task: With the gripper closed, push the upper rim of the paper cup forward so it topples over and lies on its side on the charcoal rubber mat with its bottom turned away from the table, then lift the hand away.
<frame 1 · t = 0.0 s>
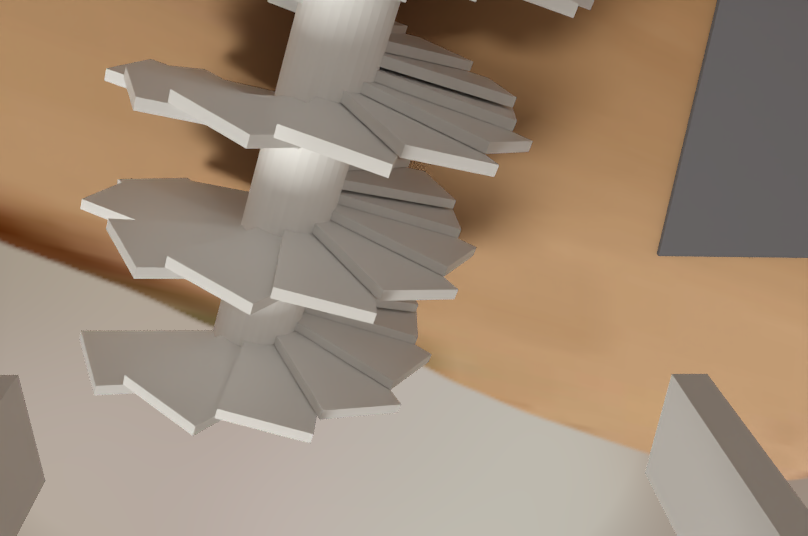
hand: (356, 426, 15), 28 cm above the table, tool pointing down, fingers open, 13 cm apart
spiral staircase: (328, 68, 39), on the table
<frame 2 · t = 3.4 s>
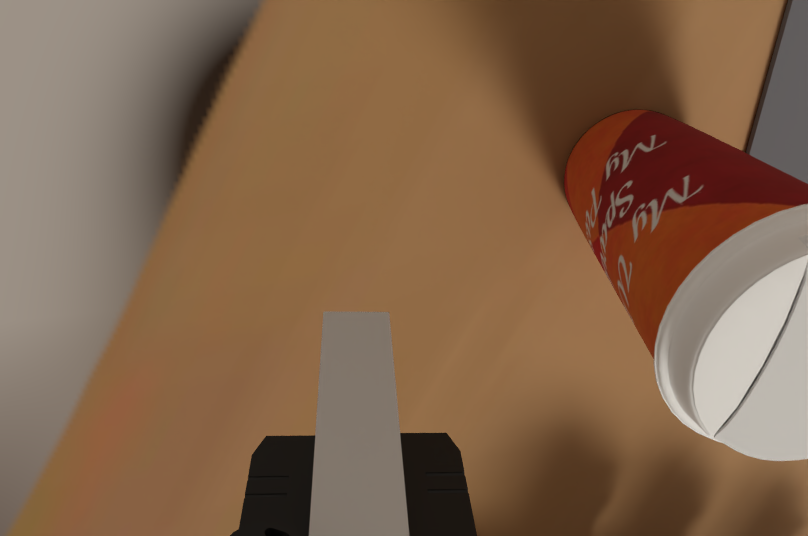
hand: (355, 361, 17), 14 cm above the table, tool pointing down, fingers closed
paper cup: (625, 173, 30), on the table
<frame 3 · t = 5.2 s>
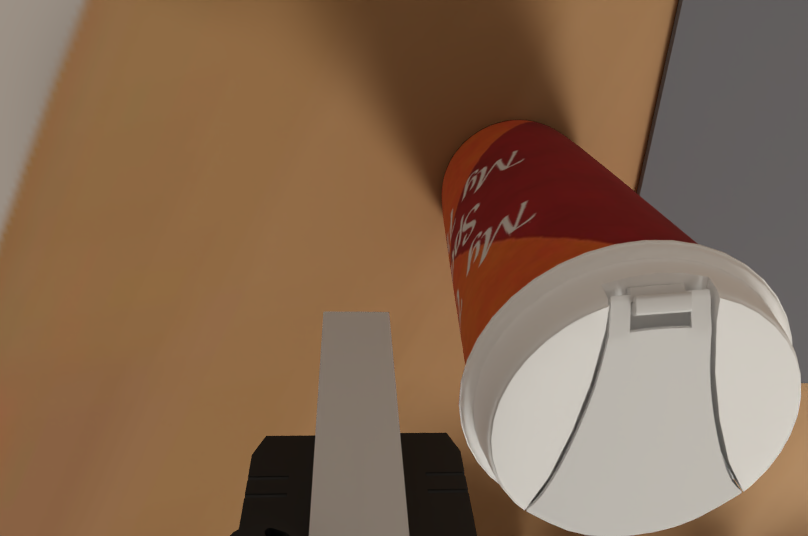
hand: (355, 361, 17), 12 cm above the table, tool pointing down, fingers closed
paper cup: (511, 188, 28), on the table
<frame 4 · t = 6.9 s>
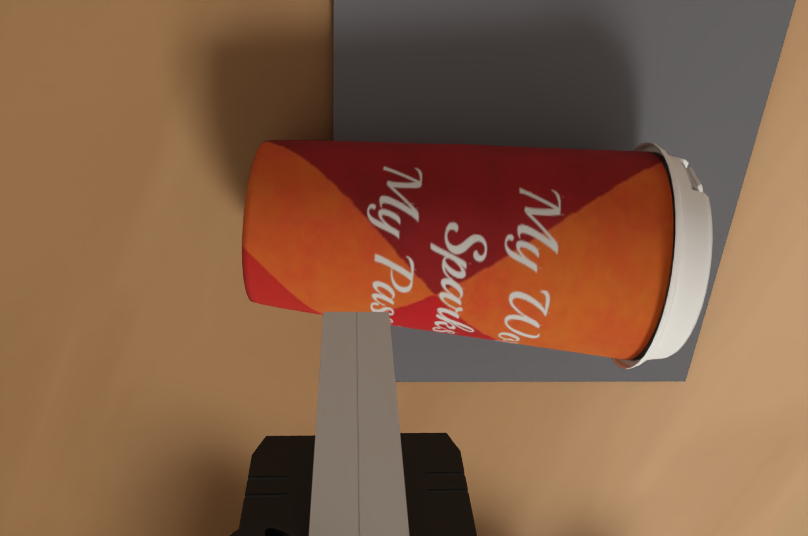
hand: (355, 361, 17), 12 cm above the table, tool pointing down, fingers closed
paper cup: (255, 223, 24), point 3 cm above the table, touching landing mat
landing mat: (538, 190, 28), on the table
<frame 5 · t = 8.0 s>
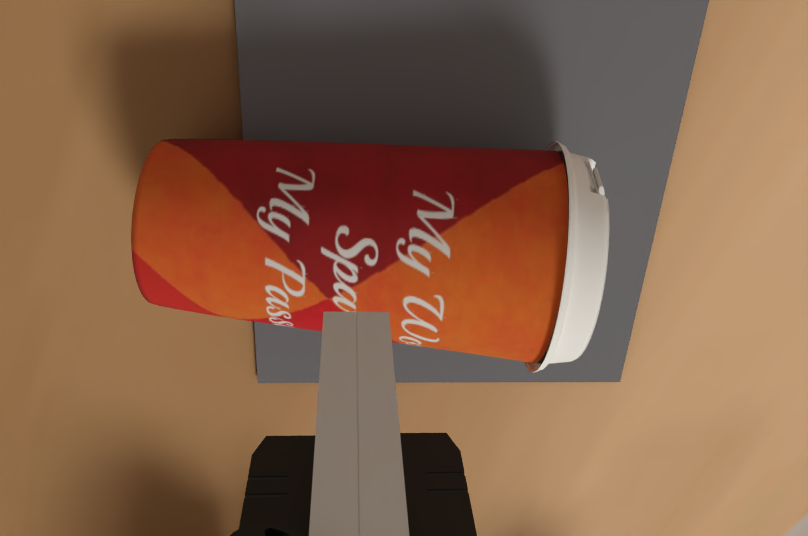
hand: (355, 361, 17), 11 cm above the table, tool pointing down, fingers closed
paper cup: (157, 223, 24), point 3 cm above the table, touching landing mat
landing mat: (458, 187, 27), on the table
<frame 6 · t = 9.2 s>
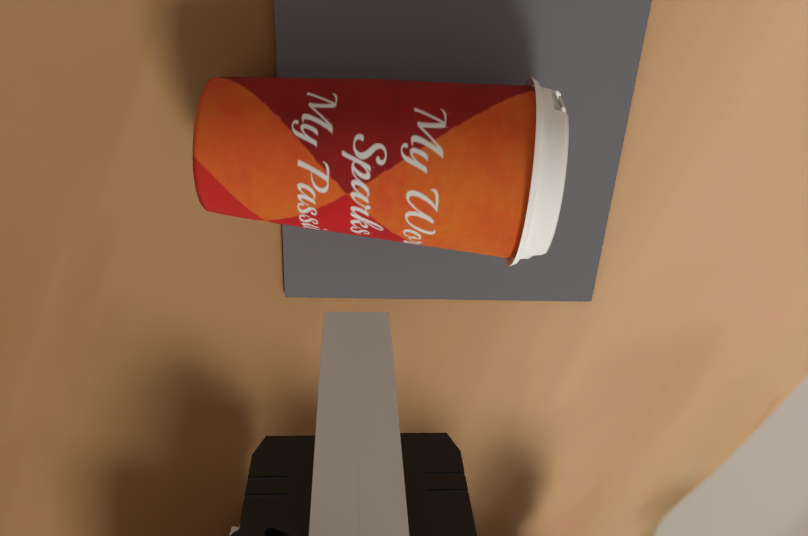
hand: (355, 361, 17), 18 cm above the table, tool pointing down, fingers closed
paper cup: (209, 146, 29), point 3 cm above the table, touching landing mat
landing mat: (453, 128, 33), on the table
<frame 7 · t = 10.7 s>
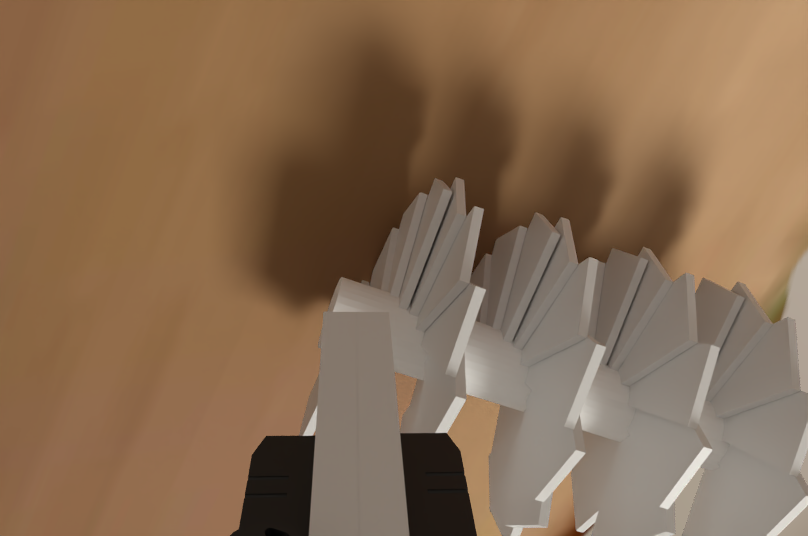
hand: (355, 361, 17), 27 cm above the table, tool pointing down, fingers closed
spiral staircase: (513, 297, 48), on the table
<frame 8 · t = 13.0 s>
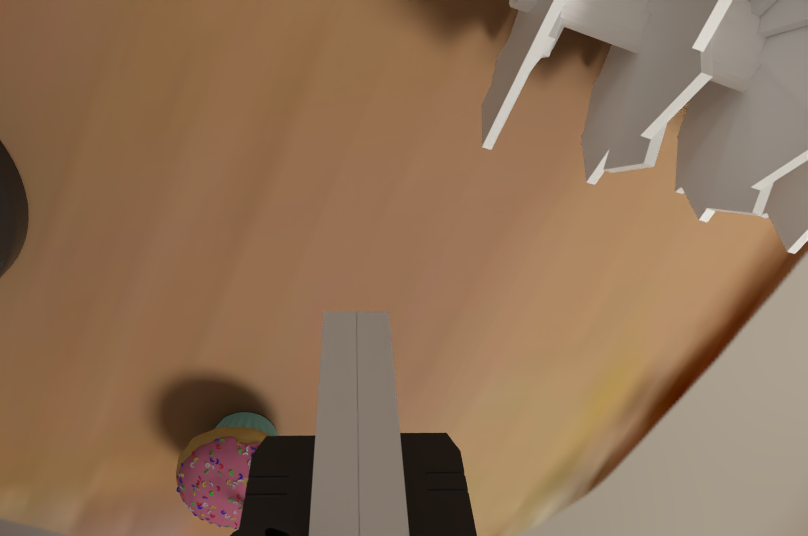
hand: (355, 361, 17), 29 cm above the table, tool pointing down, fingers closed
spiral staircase: (686, 19, 43), on the table
cupcake: (245, 434, 55), on the table
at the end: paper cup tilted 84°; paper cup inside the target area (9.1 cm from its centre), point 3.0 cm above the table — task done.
